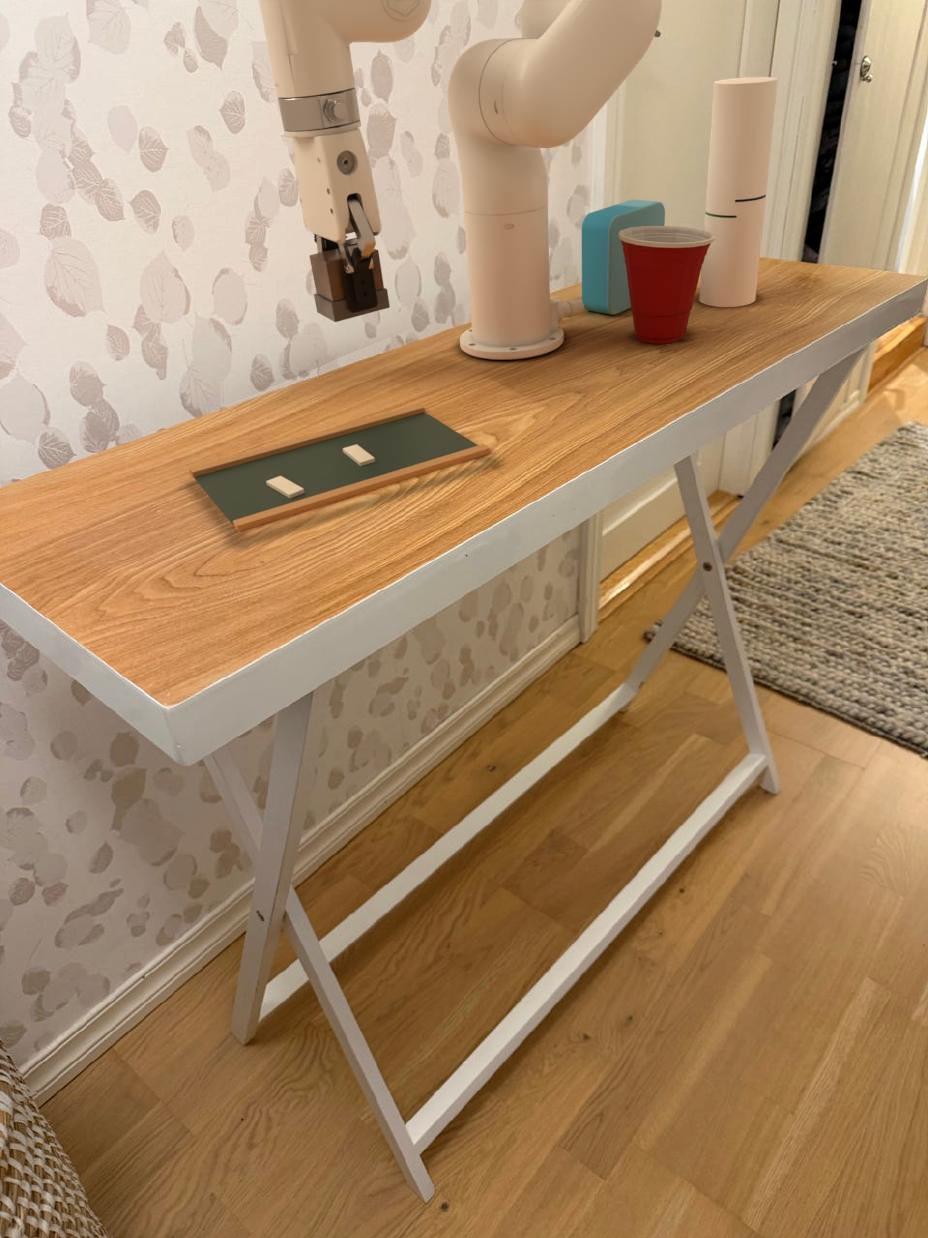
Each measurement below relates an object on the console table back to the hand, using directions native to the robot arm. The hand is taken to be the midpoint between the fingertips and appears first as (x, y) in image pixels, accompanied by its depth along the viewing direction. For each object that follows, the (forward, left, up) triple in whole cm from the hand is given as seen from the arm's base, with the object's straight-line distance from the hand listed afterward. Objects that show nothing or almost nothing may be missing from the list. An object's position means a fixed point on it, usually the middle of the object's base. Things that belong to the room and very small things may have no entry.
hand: (352, 301), depth 100 cm
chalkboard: (+12, +21, -9) cm, 25 cm away
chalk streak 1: (+18, +23, -8) cm, 30 cm away
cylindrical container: (-51, +4, -9) cm, 52 cm away
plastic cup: (-35, +10, -9) cm, 38 cm away
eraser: (0, 0, -1) cm, 1 cm away
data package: (-40, -4, -9) cm, 42 cm away
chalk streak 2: (+10, +21, -8) cm, 24 cm away
